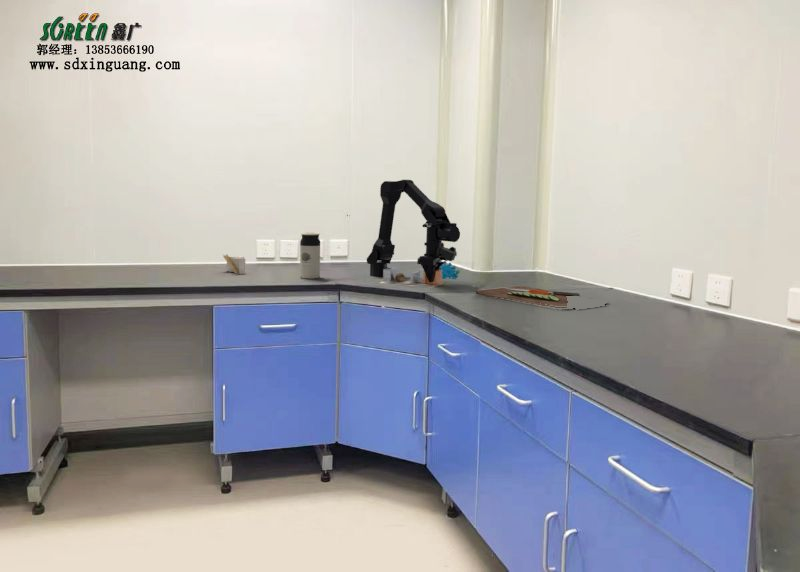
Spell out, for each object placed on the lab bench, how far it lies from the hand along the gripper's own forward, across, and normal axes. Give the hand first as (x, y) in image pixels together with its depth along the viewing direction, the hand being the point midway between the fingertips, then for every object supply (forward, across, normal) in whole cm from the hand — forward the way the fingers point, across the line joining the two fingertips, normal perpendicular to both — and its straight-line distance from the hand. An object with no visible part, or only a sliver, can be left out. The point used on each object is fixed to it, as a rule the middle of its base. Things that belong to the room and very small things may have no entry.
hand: (432, 281), depth 254 cm
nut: (+1, 0, +13) cm, 13 cm away
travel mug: (+3, 0, +52) cm, 53 cm away
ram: (+1, 0, +2) cm, 3 cm away
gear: (+3, +24, +2) cm, 25 cm away
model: (+3, -4, +87) cm, 87 cm away
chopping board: (+3, -2, -40) cm, 41 cm away
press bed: (+2, 0, +8) cm, 9 cm away
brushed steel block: (+1, 0, +17) cm, 17 cm away
